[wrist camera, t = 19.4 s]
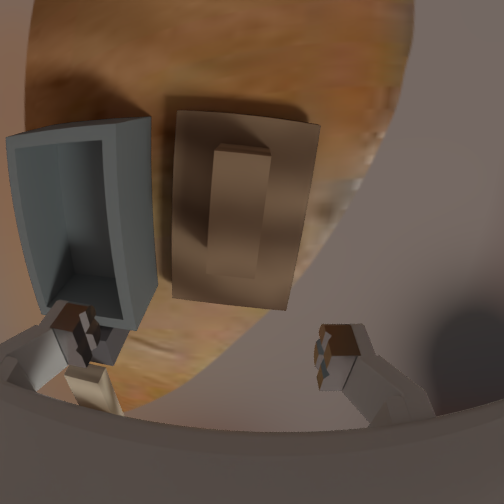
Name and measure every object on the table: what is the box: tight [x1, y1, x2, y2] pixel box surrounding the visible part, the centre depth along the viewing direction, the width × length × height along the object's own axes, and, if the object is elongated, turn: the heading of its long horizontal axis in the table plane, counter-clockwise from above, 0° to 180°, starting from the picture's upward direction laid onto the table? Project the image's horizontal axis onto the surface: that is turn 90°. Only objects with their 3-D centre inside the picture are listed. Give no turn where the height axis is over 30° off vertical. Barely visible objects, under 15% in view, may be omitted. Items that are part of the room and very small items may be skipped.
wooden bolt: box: [64, 364, 124, 416], centre depth 24 cm, size 8×4×5 cm, turn 176°
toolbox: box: [6, 117, 158, 366], centre depth 24 cm, size 20×10×8 cm, turn 176°
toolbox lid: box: [172, 110, 321, 311], centre depth 25 cm, size 17×11×6 cm, turn 174°
